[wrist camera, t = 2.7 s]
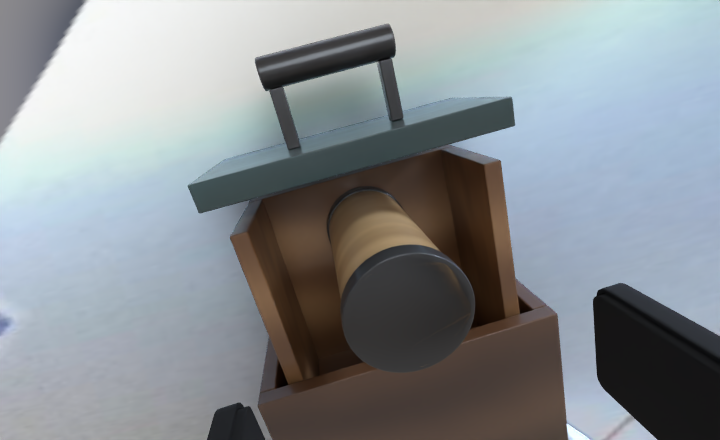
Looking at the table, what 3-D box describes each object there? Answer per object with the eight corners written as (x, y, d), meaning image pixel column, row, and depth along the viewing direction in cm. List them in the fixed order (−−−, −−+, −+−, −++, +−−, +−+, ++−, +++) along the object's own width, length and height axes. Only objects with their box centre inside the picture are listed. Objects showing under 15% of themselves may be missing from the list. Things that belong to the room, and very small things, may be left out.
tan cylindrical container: (316, 198, 21) (325, 276, 12) (394, 176, 21) (464, 235, 12) (338, 268, 23) (361, 389, 13) (410, 247, 23) (484, 351, 13)
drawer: (195, 83, 19) (141, 75, 13) (438, 20, 20) (500, -17, 14) (300, 364, 26) (298, 452, 19) (484, 308, 26) (542, 375, 20)
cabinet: (273, 307, 25) (256, 406, 17) (478, 246, 26) (558, 313, 18) (334, 469, 30) (345, 605, 22) (504, 414, 31) (576, 526, 23)
